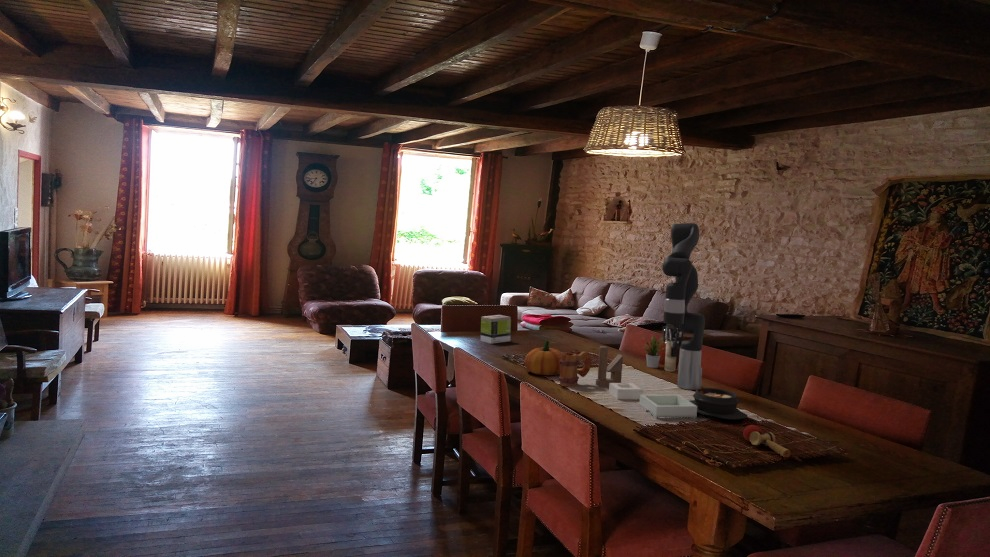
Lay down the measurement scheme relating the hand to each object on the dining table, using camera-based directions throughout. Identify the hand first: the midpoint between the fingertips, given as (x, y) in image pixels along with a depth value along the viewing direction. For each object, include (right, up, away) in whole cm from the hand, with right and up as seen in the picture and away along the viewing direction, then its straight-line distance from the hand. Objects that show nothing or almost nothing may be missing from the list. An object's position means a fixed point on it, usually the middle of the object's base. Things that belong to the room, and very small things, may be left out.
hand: (671, 355), depth 246 cm
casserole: (+17, -23, +2) cm, 29 cm away
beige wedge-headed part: (-18, -18, +35) cm, 44 cm away
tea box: (-67, -8, +130) cm, 146 cm away
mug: (-33, -18, +35) cm, 51 cm away
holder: (-14, -20, +19) cm, 31 cm away
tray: (-1, -22, +2) cm, 22 cm away
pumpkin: (-44, -15, +57) cm, 74 cm away
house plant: (+14, -16, +80) cm, 82 cm away
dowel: (0, -6, 0) cm, 6 cm away
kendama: (+21, -27, -35) cm, 49 cm away
